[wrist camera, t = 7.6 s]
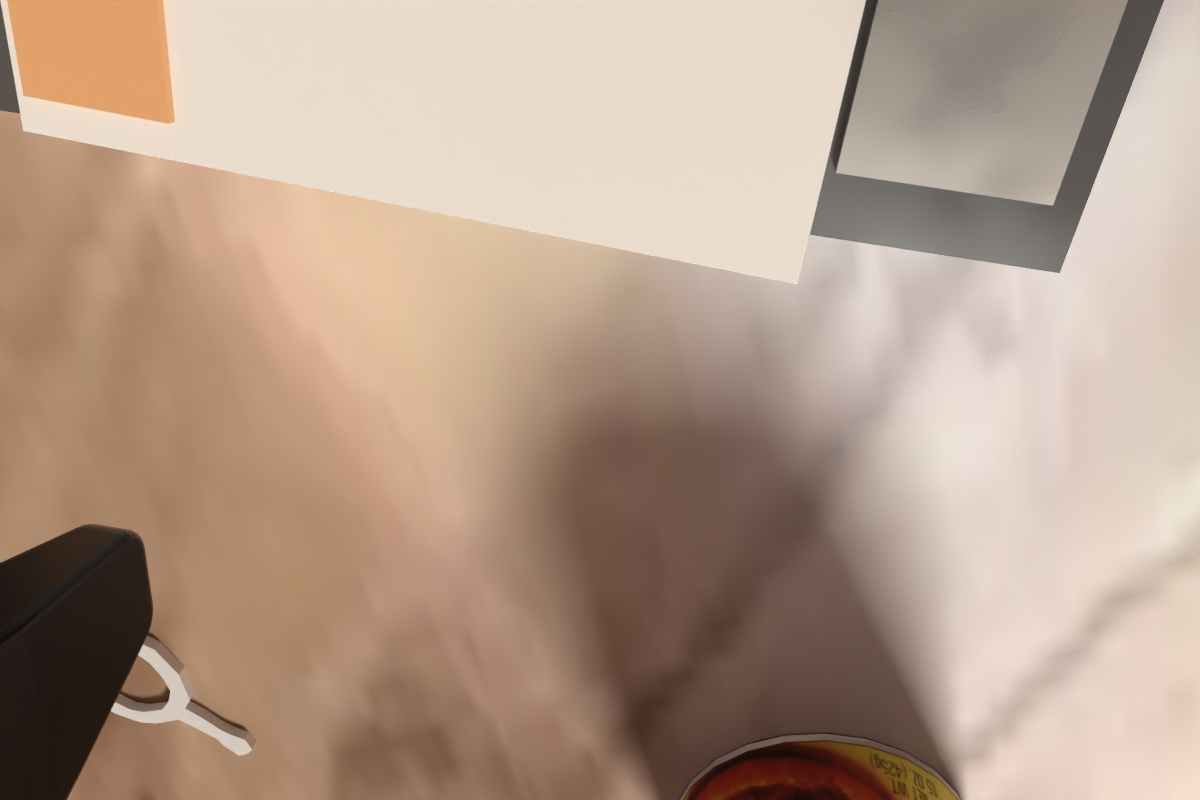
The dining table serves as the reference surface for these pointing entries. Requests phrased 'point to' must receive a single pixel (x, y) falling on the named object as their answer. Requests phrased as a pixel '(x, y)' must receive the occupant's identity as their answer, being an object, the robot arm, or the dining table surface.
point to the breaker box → (964, 123)
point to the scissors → (180, 702)
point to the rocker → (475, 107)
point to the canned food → (818, 772)
